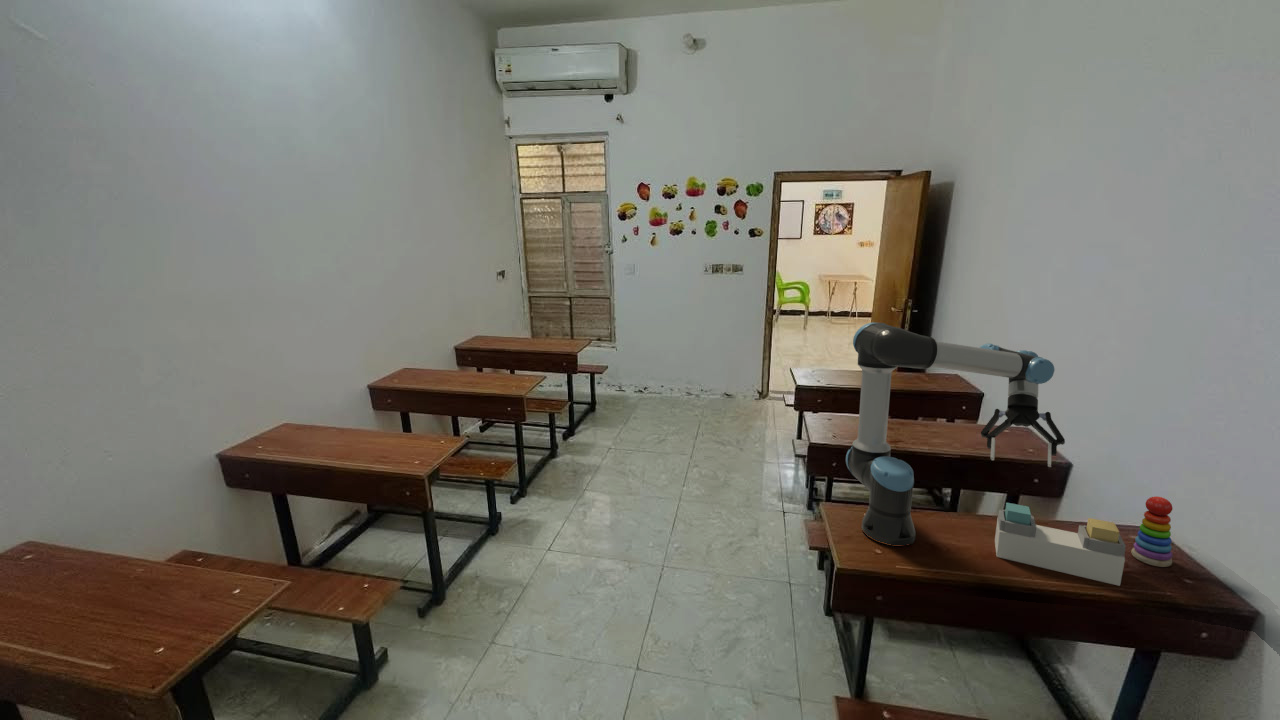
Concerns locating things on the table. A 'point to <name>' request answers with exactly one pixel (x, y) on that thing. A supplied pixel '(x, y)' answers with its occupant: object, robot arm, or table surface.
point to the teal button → (1017, 513)
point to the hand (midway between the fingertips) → (1020, 462)
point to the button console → (1060, 550)
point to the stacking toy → (1155, 534)
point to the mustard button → (1102, 530)
